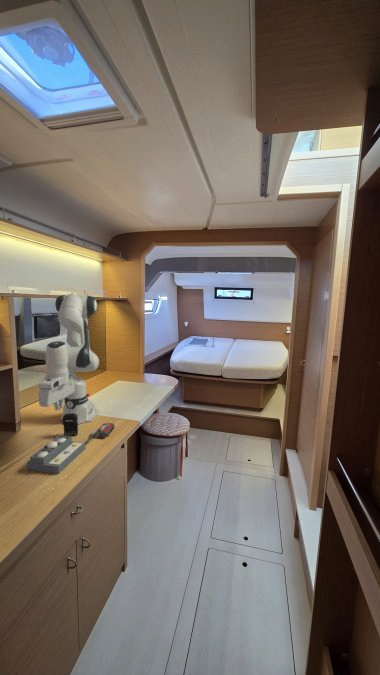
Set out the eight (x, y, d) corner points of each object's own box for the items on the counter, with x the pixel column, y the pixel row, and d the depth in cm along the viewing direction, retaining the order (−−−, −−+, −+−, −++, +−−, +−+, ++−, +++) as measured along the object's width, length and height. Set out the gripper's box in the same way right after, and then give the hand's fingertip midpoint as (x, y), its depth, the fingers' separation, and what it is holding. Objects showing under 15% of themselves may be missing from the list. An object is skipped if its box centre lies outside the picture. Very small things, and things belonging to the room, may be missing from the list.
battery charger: (62, 437, 134) (61, 415, 133) (64, 434, 138) (63, 412, 137) (77, 436, 135) (76, 415, 134) (78, 433, 139) (78, 412, 138)
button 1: (41, 455, 112) (41, 450, 112) (50, 456, 112) (50, 451, 112) (34, 460, 108) (34, 455, 108) (43, 461, 108) (43, 457, 108)
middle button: (51, 445, 118) (51, 440, 118) (59, 445, 118) (59, 441, 117) (45, 449, 114) (44, 445, 114) (53, 450, 114) (53, 446, 113)
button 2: (60, 441, 124) (59, 437, 124) (68, 442, 124) (67, 438, 123) (54, 445, 120) (54, 441, 120) (62, 446, 120) (62, 442, 119)
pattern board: (57, 445, 126) (57, 434, 126) (85, 448, 124) (84, 437, 124) (26, 469, 108) (26, 456, 107) (58, 473, 106) (58, 460, 105)
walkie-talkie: (99, 427, 148) (83, 445, 128) (99, 419, 147) (83, 436, 127) (115, 428, 147) (102, 446, 127) (115, 420, 147) (101, 437, 127)
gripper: (65, 372, 129) (66, 400, 131) (34, 385, 109) (36, 417, 111) (77, 373, 128) (78, 401, 130) (49, 386, 108) (50, 419, 110)
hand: (58, 409), depth 120 cm, fingers closed
